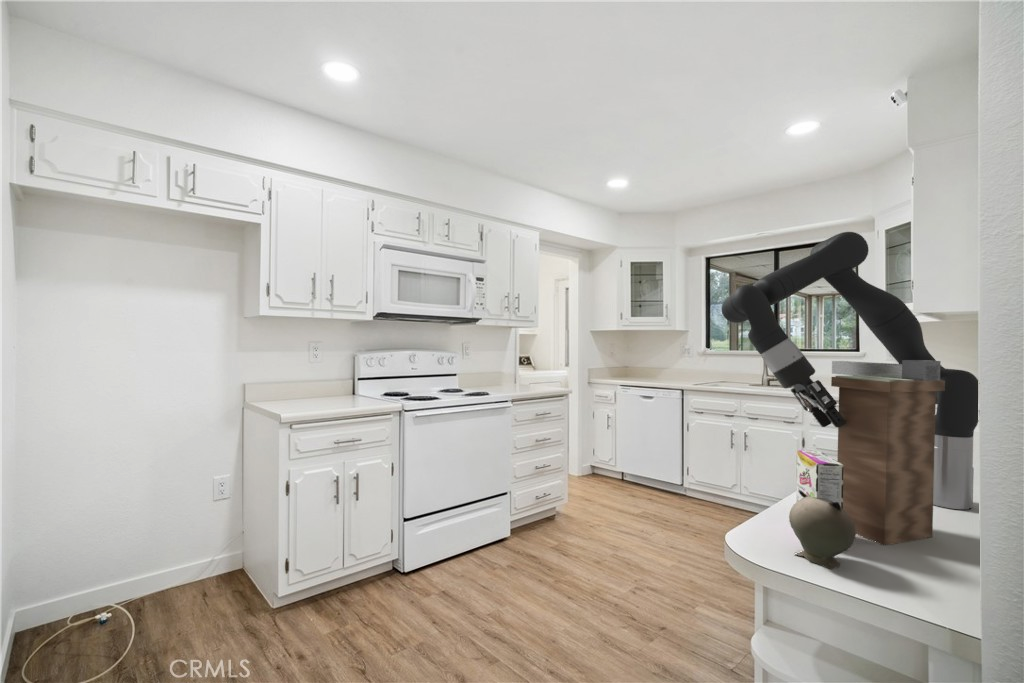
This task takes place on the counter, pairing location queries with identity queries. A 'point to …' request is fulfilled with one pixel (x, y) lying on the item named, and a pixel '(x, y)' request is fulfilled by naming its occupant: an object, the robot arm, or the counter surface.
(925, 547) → the counter surface
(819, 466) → the candy bar box
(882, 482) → the stand
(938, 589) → the counter surface
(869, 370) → the brushed steel block
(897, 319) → the robot arm
